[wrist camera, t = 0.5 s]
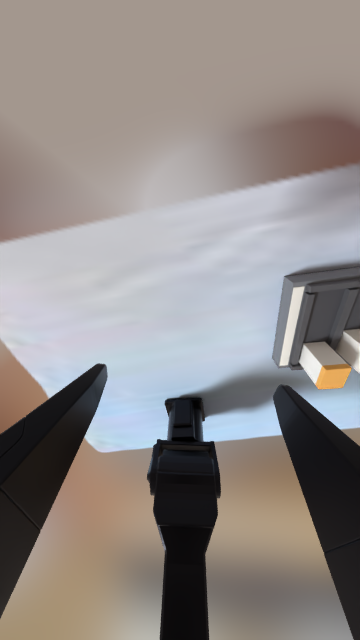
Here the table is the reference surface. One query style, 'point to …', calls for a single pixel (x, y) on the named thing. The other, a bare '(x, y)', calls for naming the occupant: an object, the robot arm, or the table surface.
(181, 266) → the table surface
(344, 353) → the block
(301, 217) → the table surface
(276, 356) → the panel
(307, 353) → the fader orange
